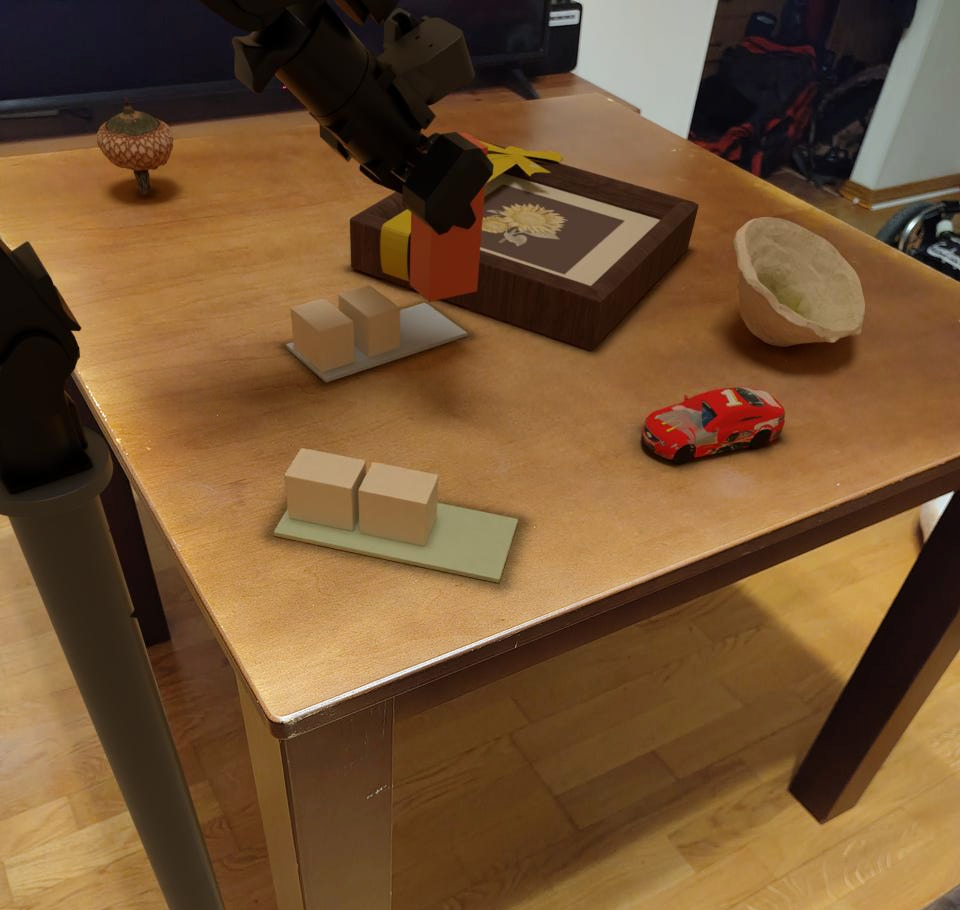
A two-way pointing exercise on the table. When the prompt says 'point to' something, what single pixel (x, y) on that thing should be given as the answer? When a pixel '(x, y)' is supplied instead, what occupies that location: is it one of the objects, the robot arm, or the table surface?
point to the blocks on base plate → (364, 332)
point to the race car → (714, 423)
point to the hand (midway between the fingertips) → (460, 215)
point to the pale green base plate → (390, 516)
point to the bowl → (795, 285)
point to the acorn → (136, 143)
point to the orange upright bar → (447, 253)
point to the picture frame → (547, 245)
